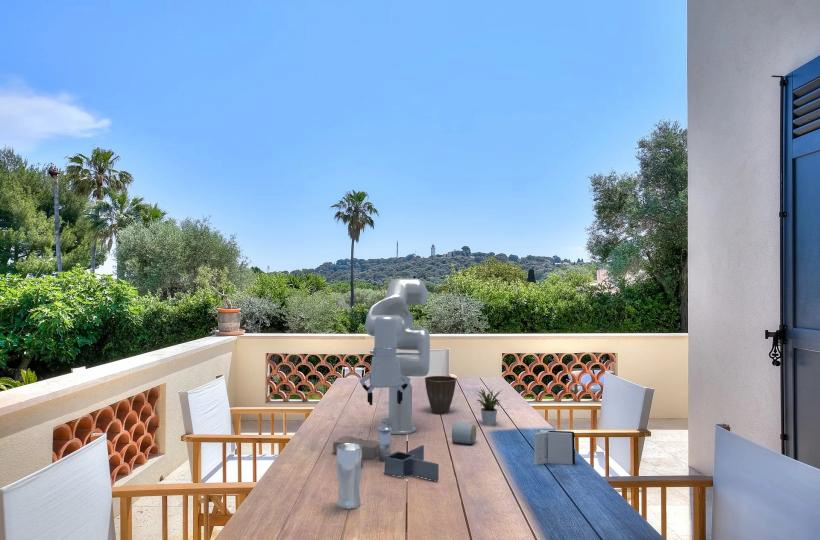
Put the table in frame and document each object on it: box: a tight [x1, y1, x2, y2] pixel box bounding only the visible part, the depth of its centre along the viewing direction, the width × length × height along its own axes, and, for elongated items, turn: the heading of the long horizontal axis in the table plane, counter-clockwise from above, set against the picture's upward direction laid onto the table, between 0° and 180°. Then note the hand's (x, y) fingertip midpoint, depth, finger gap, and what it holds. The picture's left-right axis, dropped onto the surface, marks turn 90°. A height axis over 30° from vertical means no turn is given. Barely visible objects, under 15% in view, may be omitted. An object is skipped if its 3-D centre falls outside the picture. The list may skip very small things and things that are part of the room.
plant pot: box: [424, 375, 457, 415], centre depth 234 cm, size 15×15×16 cm
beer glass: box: [335, 443, 364, 510], centre depth 130 cm, size 7×7×15 cm
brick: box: [332, 435, 379, 460], centre depth 173 cm, size 17×8×5 cm, turn 68°
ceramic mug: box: [451, 420, 477, 445], centre depth 187 cm, size 11×8×8 cm
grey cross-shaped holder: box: [384, 444, 440, 482], centre depth 155 cm, size 17×17×5 cm
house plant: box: [476, 387, 503, 426], centre depth 213 cm, size 14×14×16 cm
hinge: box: [533, 429, 576, 466], centre depth 164 cm, size 14×5×10 cm, turn 92°
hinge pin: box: [377, 424, 392, 463], centre depth 165 cm, size 5×5×11 cm
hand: (384, 403), depth 166 cm, fingers open, 9 cm apart
